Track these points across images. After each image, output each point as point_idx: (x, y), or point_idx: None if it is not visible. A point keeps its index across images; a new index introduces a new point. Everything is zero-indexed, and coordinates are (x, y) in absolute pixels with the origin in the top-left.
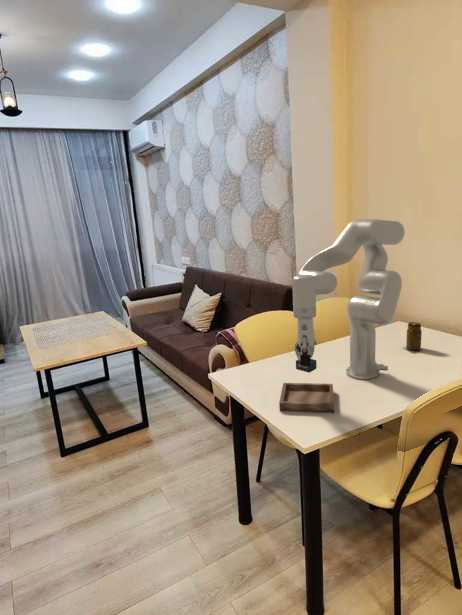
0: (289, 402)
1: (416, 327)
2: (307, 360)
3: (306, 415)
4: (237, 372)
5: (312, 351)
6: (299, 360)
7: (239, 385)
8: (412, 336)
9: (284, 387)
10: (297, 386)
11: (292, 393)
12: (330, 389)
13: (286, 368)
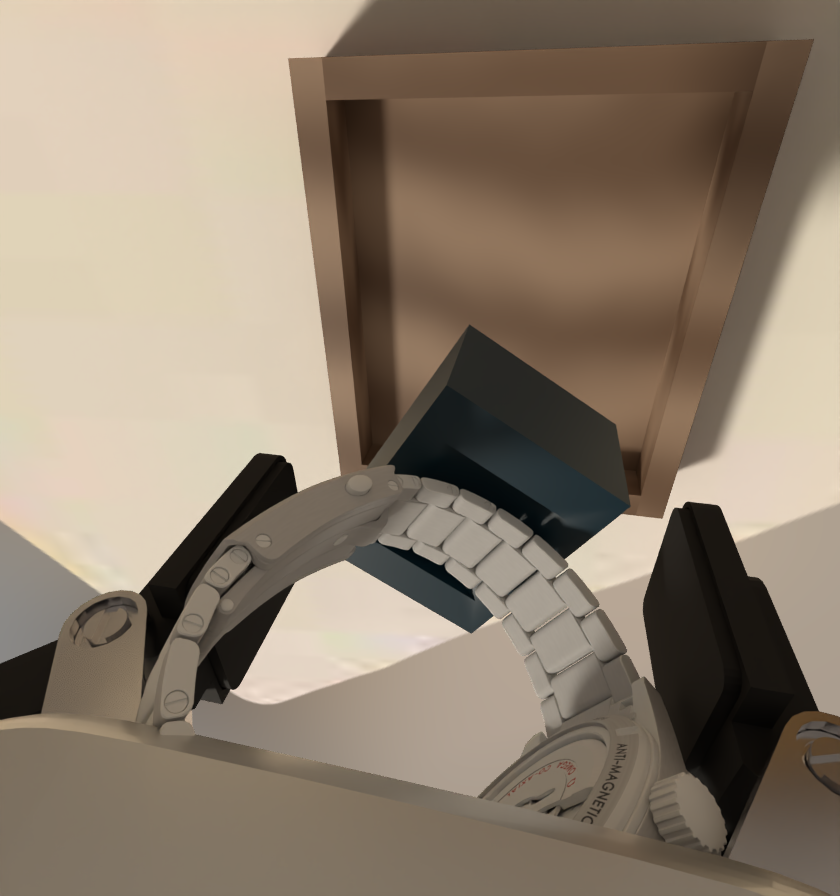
0: (668, 458)
1: None
2: (779, 630)
3: (759, 313)
4: None
5: (332, 522)
6: (465, 599)
7: (338, 633)
8: None
9: None
10: (359, 386)
11: None
12: (423, 87)
13: (54, 424)
